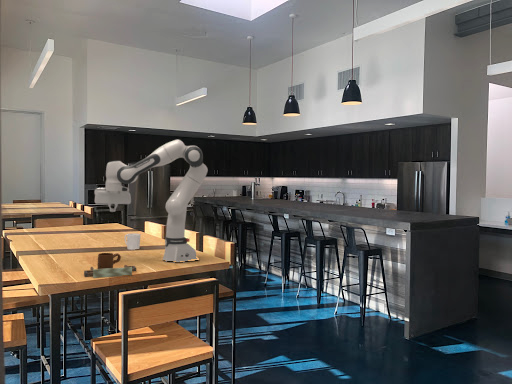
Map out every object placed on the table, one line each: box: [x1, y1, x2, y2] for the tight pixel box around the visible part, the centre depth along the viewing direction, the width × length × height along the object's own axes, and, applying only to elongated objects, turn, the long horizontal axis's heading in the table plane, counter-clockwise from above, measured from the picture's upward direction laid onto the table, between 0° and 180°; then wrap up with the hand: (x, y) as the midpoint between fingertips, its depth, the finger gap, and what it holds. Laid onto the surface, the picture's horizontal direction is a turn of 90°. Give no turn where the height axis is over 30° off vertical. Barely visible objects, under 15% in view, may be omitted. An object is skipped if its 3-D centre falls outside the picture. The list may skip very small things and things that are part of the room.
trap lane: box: [83, 264, 137, 279], centre depth 212 cm, size 26×17×4 cm, turn 116°
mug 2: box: [124, 232, 142, 251], centre depth 283 cm, size 11×9×10 cm
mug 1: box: [97, 252, 122, 269], centre depth 215 cm, size 12×8×9 cm, turn 133°
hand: (112, 211), depth 242 cm, fingers closed
